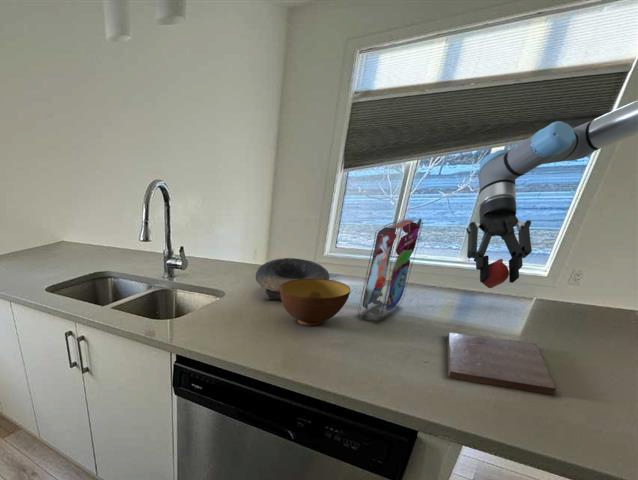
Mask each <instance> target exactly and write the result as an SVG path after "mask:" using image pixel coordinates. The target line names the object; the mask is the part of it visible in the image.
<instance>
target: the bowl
mask: <svg viewBox="0 0 638 480" xmlns="http://www.w3.org/2000/svg"><path fill="white" fill-rule="evenodd" d="M280 294H281V299H280V300H281V303H282V306H283V307H284V309H285V311H286V312H287V313H288V315H290V316H291V317H292V318H294V319H296V320H297V323H299V324H301V325H303V326H309V327H313V326H314V327H315V326H319V325H321V324H322V322H325V321H327V320H330V319H331V318H332V317H333V318H334V316H335V315H337V314H338V313H340V310H342V309H343V307H344V306H345V305H346V303H347V301H348V299H349V296H350V294H351V287H350V286H349V285H347V284H346V283H343V282H341V281H337V280H333V279H329V280H327V279H297V280H292V281H288V282H286V283H284V284H282V285H281V289H280Z"/></svg>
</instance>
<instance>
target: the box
mask: <svg viewBox="0 0 638 480" xmlns="http://www.w3.org/2000/svg"><path fill="white" fill-rule="evenodd" d="M423 222H424V221H423V220H422V218H417V219H416V218H415V219H405V218H404V219H400V220H397V221H393V222H390V223H388V224H385V225H383V226H382V228H381V229H380V228H378V229H376V230H375V234H374V239H373V245H372V249H371V252H370V256H369V261H368V265H367V268H369V267H370V269H366V274H365V277H367V278H365V279H364V281H365V282H364V283H363V285H364V286H363V287H362V292H361V296H360V301H359V302H360V304H359V306H358V307H359V308H358V310H357V312H358V313H357V315H358V316H362V320H364V321H366V319H364V318H367V319H368V321H369V322H370V321H373V322H375V323H376V320H374V319H372V318H370V317H368V316H365V315H364V314H365V313H366V312H367V311H368V309H369V305H377V306H375V307H371V308H370V310H369V312H370V314H371V315H372V316H376V317H379V316H380V318H379V320H378V321H377V323H379V322H382V321H383V320H385V319H386V317H387V316H388V317H390V316H391V314H389V313H387V314H385V315H384V316H383V312H384V309H385V311H386V312H388V311H389V312H390V313H392V314H394V313H395V311H397V310H399V306H400V304H402V302H403V300H404V297H405V293H406V292H405V291H407V287H408V285H406V284H408V282H409V281H407V280H409V279H410V277H408V276H411V275H410V274H411V270H412V267H413V264H414V260H415V258H416V257H415V256H416V252H417V249H418V245H419V241H420V238H421V233H422V229H423V225H424V223H423ZM397 230H399V231H397ZM401 230H402V231H403V233H405V235H401V237H400V234H401ZM399 237H400V239H399ZM398 240H399V242H398ZM417 240H418V242H417ZM397 242H398V243H397ZM396 243H397V244H396ZM395 245H396V246H395ZM394 248H395V251H394V250H393V249H394ZM414 250H415V252H414ZM393 252H394V253H393ZM395 253H396V256H395ZM413 253H414V255H413V256H414V257H413V261H412V262H411V259H410V258H411V256H412V254H413ZM392 254H393V255H392ZM394 257H395V260H394V262H393V259H394ZM392 262H393V263H394V264H393V268H391V267H392ZM370 263H371V264H370ZM410 264H411V265H410ZM389 265H390V267H389ZM388 268H389V274H388ZM391 269H392V270H391ZM368 272H369V273H368ZM408 273H409V274H408ZM387 274H388V277H390V278H388V283H387V285H386V280H387ZM390 274H391V275H390ZM385 286H387V287H386V290H385V292H383V290H384V287H385ZM363 293H364V294H363ZM384 293H385V294H384ZM387 295H388V296H387ZM383 296H384V301H381V298H382V297H383ZM379 297H380V298H379ZM401 299H402V300H401ZM386 300H387V301H386ZM399 302H400V303H399ZM361 304H362V307H363V308H364V309H365V310H364V311H363V312H362V313H361V312H360V311H361V309H362V307H361ZM380 306H382V309H381V311H380V309H379V308H378V307H380ZM384 307H385V308H384ZM395 307H396V308H395ZM359 309H360V310H359ZM381 319H382V320H381Z"/></svg>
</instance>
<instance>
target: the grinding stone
mask: <svg viewBox="0 0 638 480" xmlns="http://www.w3.org/2000/svg"><path fill="white" fill-rule="evenodd" d="M297 279H327V280H330V274H329V271H328V270H327V269H326V268H325V267H324V266H322V265H321V264H320V263H317V262H314V261H311V260H308V259H303V258H297V257H296V258H295V257H283V258H277V259H272V260H270V261H267V262H265V263H263V264H262V265H260V266H259V267H258V269H257V270H256V272H255V280H256V282H257V283H258V284H259V285H260V286H261V287H262V288H263V289H264V290H265V295H266V301H274V300H281V294H280V289H281V285H282V284H284V283H286V282H288V281H292V280H297Z"/></svg>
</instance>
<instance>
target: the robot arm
mask: <svg viewBox="0 0 638 480" xmlns="http://www.w3.org/2000/svg"><path fill="white" fill-rule="evenodd" d="M636 135H638V99H636V100H634V101H632V102H630V103H628V104H626V105H624V106H621V107H619V108H616V109H614V110H612V111H610V112H607V113H604V114H603V115H601V116H599V117H596V118H594V119H592V120H590V121H587V122H585V123H583V124H580V125H579V126H576V127H573V128H572V126H571V125H570V124H568V123H567V122H565V121H561V120H560V121H559V120H558V121H554V122H552V123H549V125H547V126H545V127H543V128H540V129H539V130H538V131H536V132H535V133H534V134H533V135H532V136H530V137H528V138H527V139H525V140H524V141H523V142H521V143H519V144H517V146H515V147H513V148H512V149H500V150H496V151H495V152H491V153H489V154H487V155H486V156H484V158H482V159H481V160H480V162H479V166H478V174H477V179H478V191H479V192H478V198H479V199H478V208H479V209H478V212H479V213H478V214H479V217H478V218H479V219H478V220H479V221H478V222H475V221H471V222H470V223H469V224H468V226H467V227H466V228H465V231H466V233H467V250H466V251H467V254H466V257H467V258H468V259H473V262H474V263H475V270H476V271H479V282H480V283H482V282H484V281H485V280H487V279H488V278H489V264H490V261H489V260H490V259H489V255H485V254H486V253H487V250H488V247H489V245H490V242H491V240H492V237H500V238H501V240H502V241H504V244H505V247H506V248H507V251H508V253H509V254H510V257H511V258H510V259H509V260H508V270H509V276H508V278H509V279H508V281H509V284H510V283H514V282H516V281H517V280H519V278H520V269H521V268H522V267H523V265H524V264H523V259H526V258H527V257H528V256H529V255H530V254H531V253H532V252H533V249H532V240H531V232H530V231H531V230H530V227H531V225H532V221H531V220H526V221H521V220H519V219H518V217H517V201H516V200H517V195H516V194H517V193H516V180H517V179H518V178H520V177H522V176H524V175H526V174H527V173H529V172H531V171H532V170H534V169H536V168H537V167H539V166H541V165H546V164H554V163H563V162H574V161H577V160H580V159H583V158H586V157H588V156H590V155H592V154H593V153H594V152H596V151H598V150H600V149H603V148H605V147H608V146H610V145H614V144H616V143H618V142H621V141H623V140H626V139H629V138H631V137H635V136H636ZM514 227H516V230H515V228H514ZM479 229H480V230H481V231H482V232H483V236H482V239H481V242H480V244H479V247H478V239H479V238H478V237H479ZM515 231H517V232H518V233H517V235H518V239H517V237H516V234H515Z"/></svg>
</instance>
